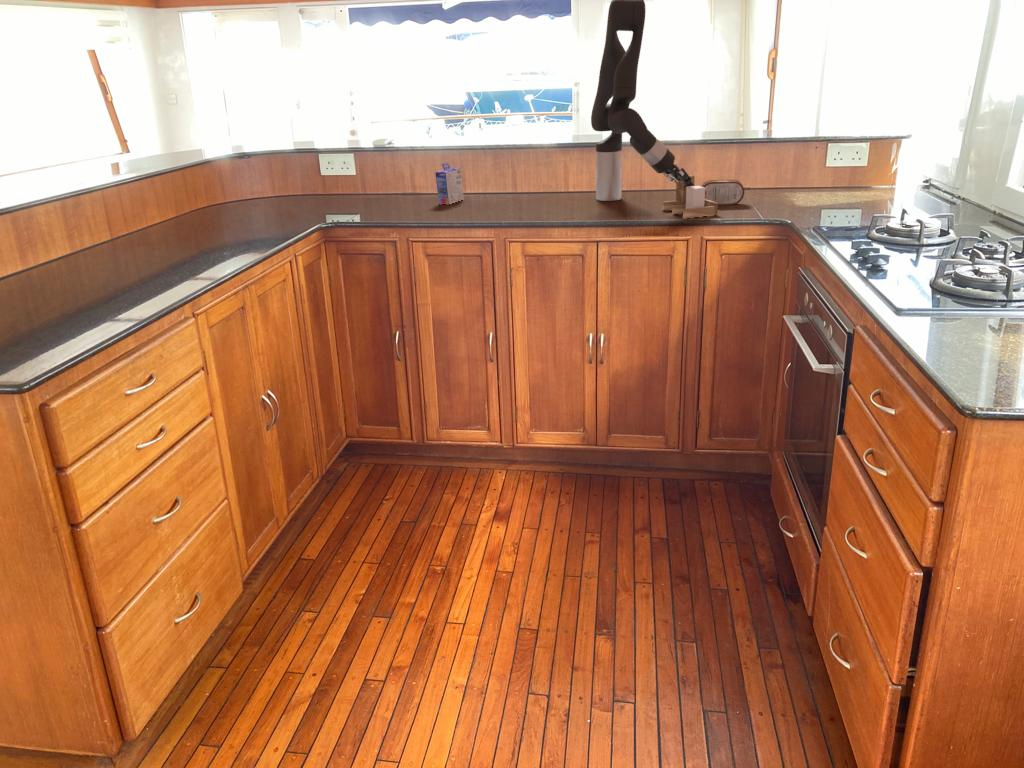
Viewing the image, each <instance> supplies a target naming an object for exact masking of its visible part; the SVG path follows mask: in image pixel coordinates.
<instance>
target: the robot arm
mask: <svg viewBox="0 0 1024 768" xmlns="http://www.w3.org/2000/svg"><path fill="white" fill-rule="evenodd" d="M607 14H608V15H607V21H606V22H607V23H606V32H605V40H604V41H605V42H604V48H603V53H602V58H601V64H600V68H599V74H598V75H599V77H598V83H597V84H598V85H597V90H596V95H595V98H594V102H593V106H592V111H591V116H590V124H591V128H592V130H593V131H595V132H610V131H611V133H610V134H609V135H608V136H607V137H606V138H605V139H602V140H601V141H598V142H597V143H595V181H596V182H595V186H596V187H595V193H596V194H595V198H596V200H597V201H601V202H612V201H613V202H614V201H620V200H621V199H622V182H623V180H622V177H623V176H622V175H623V174H622V171H623V170H622V168H623V167H622V166H623V165H622V162H623V158H622V155H623V154H622V152H623V149H622V147H623V144H622V143H623V134H624V133H627V134H628V135H629V136H630V138H629V143H630V146H631V147H632V148H633V149H634V150H635V151H636V152H637V153H638V154H639V156H641V158H642V159H643V160H644V161H645V162H646V163H647V164H648V165H649V167H651V168H652V169H653V171H655V173H657V174H663V175H664V176H665V177H666V178H667V179H668V180H669V181H670V182H673V183H674V184H676V181H677V182H681V183H682V184H683V185H685V186H686V187H687V186H696V184H695V183H694V184H693V183H692V182H691V180H692V179H691V177H690V176H689V175H690V174H689V173H687V172H686V170H685V169H684V168H682V167H680V166H679V165H678V164H675V160H676V157H675V156H676V155H674V153H673V152H671V150H670V149H669V148H668V147H667V146H666V145H665V144H664V143H663V142H662V141H661V140H660V139H658V138H657V137H656V136H655V135H654V134H653V132H651V130H649V129H648V127H647V124H646V123H645V121H644V120H643V118H642V116H641V115H640V114H639V112H637V111H636V110H635V109H633V108H631V107H630V105H631V103H632V101H634V100H635V99H636V97H637V96H636V95H637V81H638V68H639V67H638V66H639V61H640V56H641V55H640V54H641V48H642V42H643V35H644V28H645V22H646V3H645V0H611V1H610V4H609V8H608V13H607ZM618 31H620V32H632V36H631V41H630V43H629V46H628V47H627V49H626V50H625V48H624V47H623V45H622V43H621V41H620V38H619V37H618V36H619V35H618ZM610 99H611V103H609V101H610ZM688 174H689V175H688ZM678 177H679V179H678ZM685 179H686V180H685Z"/></svg>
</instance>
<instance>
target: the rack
mask: <svg viewBox="0 0 1024 768" xmlns="http://www.w3.org/2000/svg"><path fill="white" fill-rule="evenodd" d="M718 206H719V205H718V203H717V202H713V201H710V200H707V199H705V201H704V207H700V208H691V209H686V204H683V205H681V204H678V203H676V200H670V201H662V204H661V211H662V210H670V209H672V210H671V211H672V212H671V215H672V214H679V215H682V220H687V218H690V219H695V218H694V217H699V218H704V217H703V216H707V217H714V215H716V216H718ZM682 213H683V214H682Z"/></svg>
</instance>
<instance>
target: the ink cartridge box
mask: <svg viewBox="0 0 1024 768" xmlns="http://www.w3.org/2000/svg"><path fill="white" fill-rule="evenodd" d="M441 166H442V168H443V169H442V170H439V171H438V170H437V171H435V180H436V181H435V182H436V190H437V198H438V199H437V200H438V205H442V204H446V205H445V206H450V205H453V204H452V203H454V204H456V203H455V202H457V203H459V202H458V201H460V202H462V201H461V200H463V201H464V200H465V198H464V197H465V196H464V189H463V177H462V167H460V168H458V167H450V165H449V163H448V162H445V163H441ZM449 204H450V205H449Z"/></svg>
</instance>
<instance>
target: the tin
mask: <svg viewBox="0 0 1024 768" xmlns="http://www.w3.org/2000/svg"><path fill="white" fill-rule="evenodd" d="M701 187H705V199H707V200H710V201H713V202H717V203H718V206H735V205H737V204H739V203H740V202H741V201H742V200H743V199H744V196H745V188H744V185H743V184H742V183H741V182H740V181H739V180H737V179H709V180H707V181H705V182H703V183H702V184H701Z"/></svg>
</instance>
